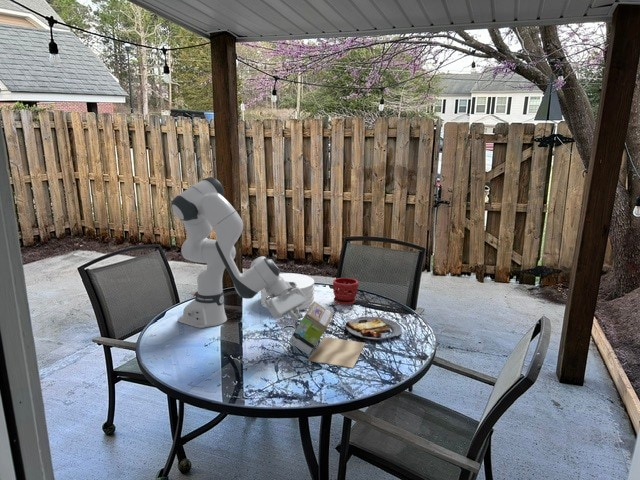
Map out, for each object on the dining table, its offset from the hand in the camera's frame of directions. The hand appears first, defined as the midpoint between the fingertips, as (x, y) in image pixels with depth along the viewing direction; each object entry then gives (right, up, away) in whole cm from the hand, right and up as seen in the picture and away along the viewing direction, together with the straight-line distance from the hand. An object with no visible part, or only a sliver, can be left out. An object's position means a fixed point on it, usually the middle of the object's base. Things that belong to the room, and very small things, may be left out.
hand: (298, 318), depth 178 cm
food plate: (+32, -9, +20) cm, 39 cm away
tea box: (+1, -10, +3) cm, 11 cm away
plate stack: (-9, -1, +55) cm, 56 cm away
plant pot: (+22, -1, +55) cm, 59 cm away
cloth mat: (+16, -13, -1) cm, 20 cm away
